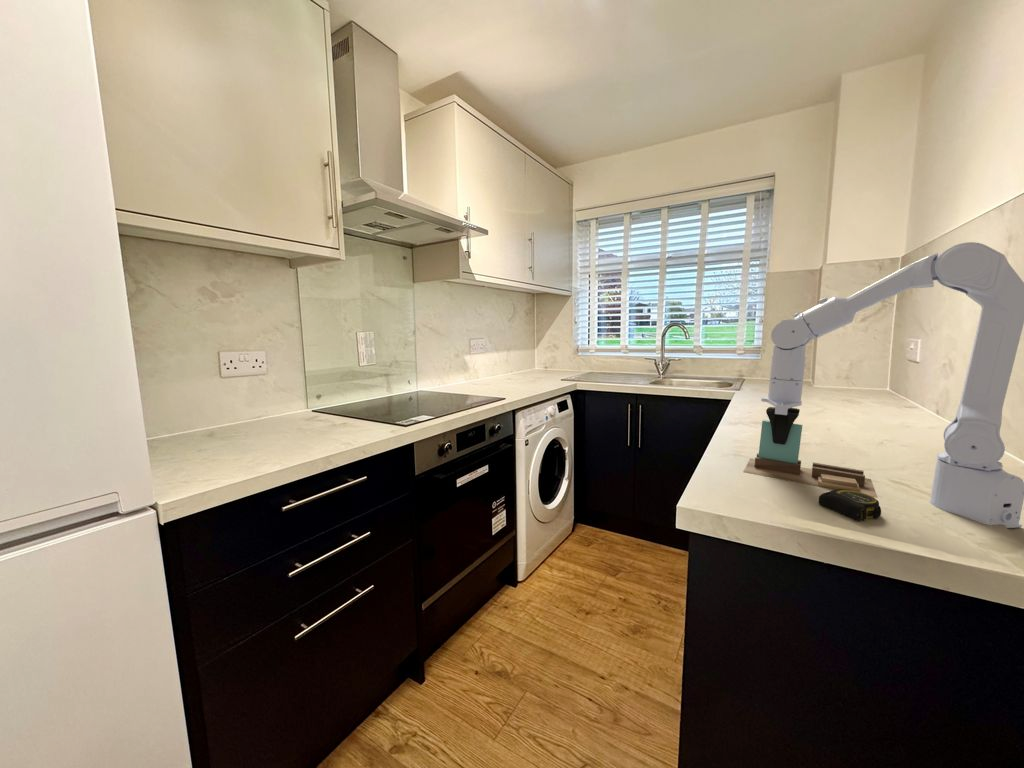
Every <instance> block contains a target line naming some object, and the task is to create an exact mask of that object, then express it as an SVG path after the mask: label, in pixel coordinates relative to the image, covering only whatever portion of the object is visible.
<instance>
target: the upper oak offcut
mask: <svg viewBox="0 0 1024 768" xmlns="http://www.w3.org/2000/svg"><path fill="white" fill-rule="evenodd" d="M820 478H821V481H822V482H825V483H831V484H837V485H844V486H850V487H856V488H857V486H858V483H857V481H856V480H855V479H851V478H845V477H838V476H832V475H825V474H821V476H820Z"/></svg>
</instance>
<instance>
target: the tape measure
mask: <svg viewBox="0 0 1024 768" xmlns="http://www.w3.org/2000/svg"><path fill="white" fill-rule="evenodd" d="M818 504H819V506H821V507H822V508H825V509H827V510H829V511H833V512H836V513H837V514H840V515H842V516H843V517H846V518H848V519H851V520H853V521H856V522H861V521H862V522H865V520H873V519H874V520H875V519H877V518H879V517H880V516H881V515H882V508H881V506H880V502H879V500H878V498H876V497H872V496H870V495H867V494H864V493H861V492H858V491H853V490H846V489H831V490H829V491H827V492H823V493H821V494H820V495H819V496H818Z"/></svg>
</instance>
